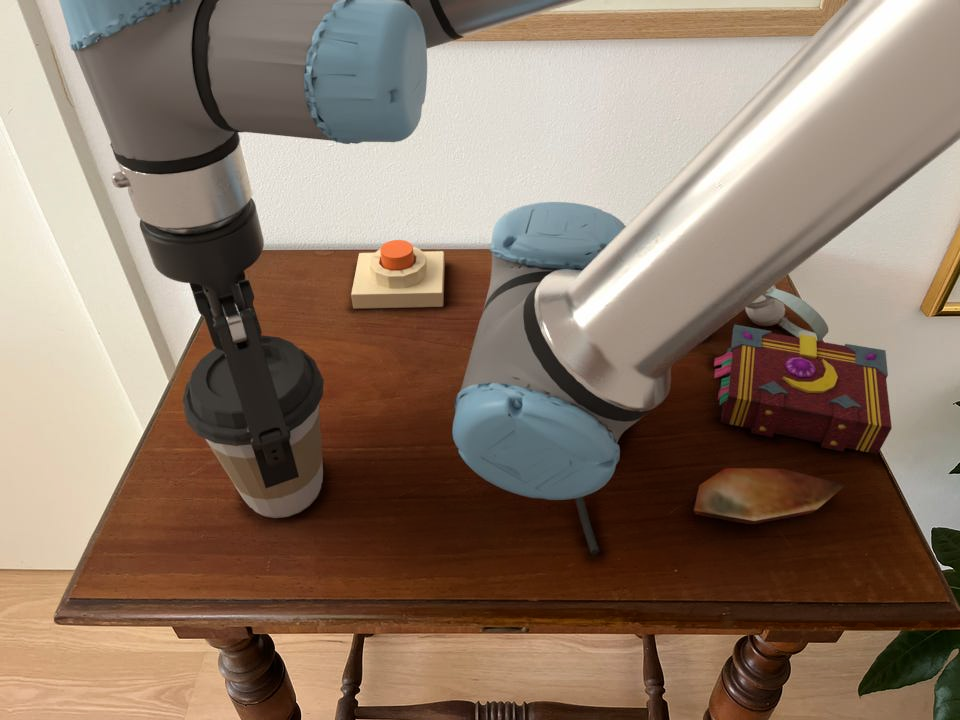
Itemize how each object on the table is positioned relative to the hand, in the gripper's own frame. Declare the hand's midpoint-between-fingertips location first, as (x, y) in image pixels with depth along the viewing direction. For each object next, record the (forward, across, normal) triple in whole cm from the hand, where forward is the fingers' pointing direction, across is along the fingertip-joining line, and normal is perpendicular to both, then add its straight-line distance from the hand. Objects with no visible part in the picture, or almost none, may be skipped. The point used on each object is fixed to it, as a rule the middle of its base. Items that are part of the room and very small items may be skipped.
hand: (261, 423), depth 63 cm
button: (+5, -25, +22) cm, 33 cm away
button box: (+9, -25, +22) cm, 34 cm away
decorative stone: (+5, +22, +39) cm, 45 cm away
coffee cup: (+9, 0, 0) cm, 9 cm away
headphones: (+7, -11, +56) cm, 57 cm away
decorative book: (+8, +13, +51) cm, 53 cm away
